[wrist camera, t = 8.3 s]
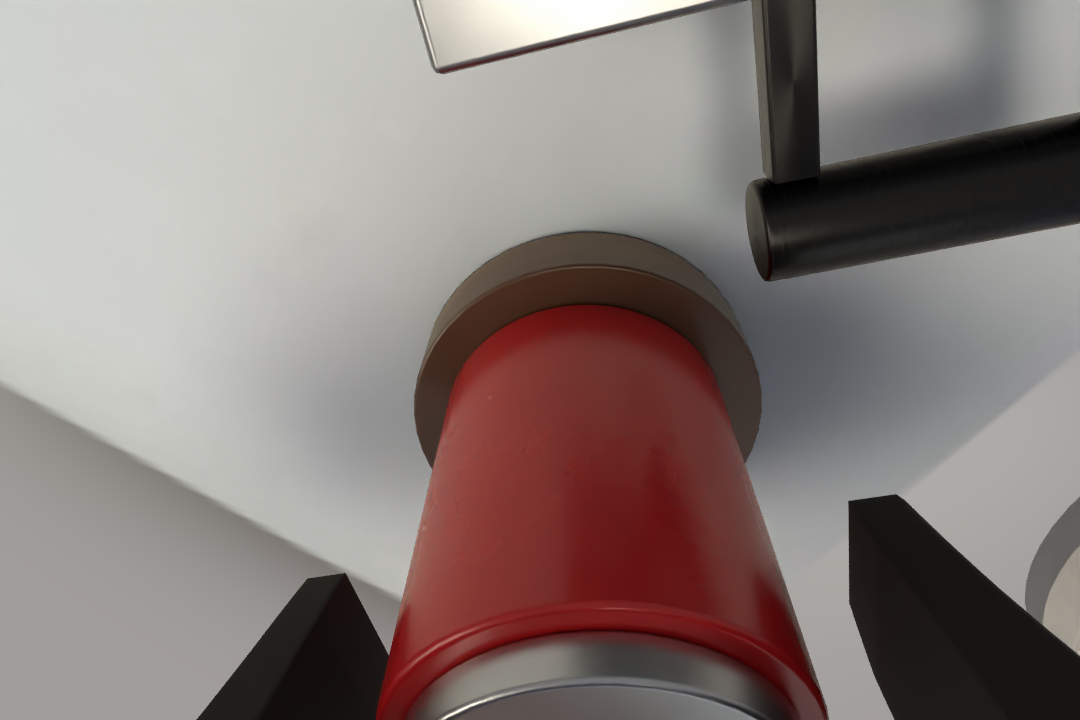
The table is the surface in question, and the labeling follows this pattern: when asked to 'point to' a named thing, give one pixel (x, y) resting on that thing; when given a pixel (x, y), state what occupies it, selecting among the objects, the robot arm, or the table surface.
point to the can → (593, 542)
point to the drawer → (810, 141)
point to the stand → (588, 279)
